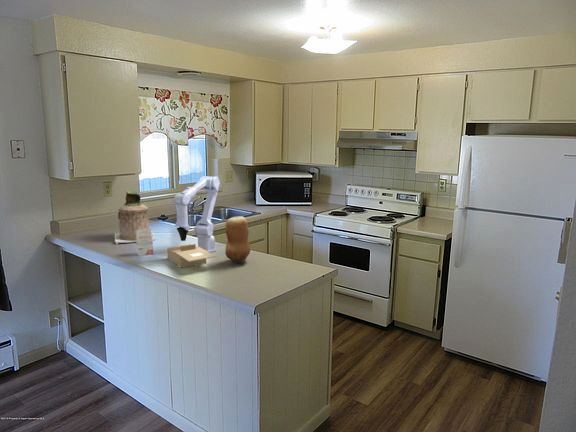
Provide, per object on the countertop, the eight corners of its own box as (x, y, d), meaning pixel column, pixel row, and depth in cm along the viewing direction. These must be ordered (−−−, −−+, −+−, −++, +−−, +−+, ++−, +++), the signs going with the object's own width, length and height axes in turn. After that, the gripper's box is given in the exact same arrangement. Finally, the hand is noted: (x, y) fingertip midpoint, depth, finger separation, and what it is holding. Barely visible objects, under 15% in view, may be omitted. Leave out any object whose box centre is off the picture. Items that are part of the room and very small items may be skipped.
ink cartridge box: (153, 252, 248) (152, 227, 245) (153, 254, 243) (151, 229, 240) (138, 253, 245) (136, 228, 242) (137, 255, 241) (135, 230, 238)
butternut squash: (223, 259, 233) (222, 215, 228) (247, 257, 238) (246, 213, 233) (229, 267, 221) (227, 220, 216) (254, 264, 225) (253, 218, 220)
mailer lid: (199, 247, 233) (199, 242, 233) (216, 257, 217) (215, 251, 216) (173, 252, 225) (173, 246, 225) (188, 261, 209) (188, 255, 208)
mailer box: (191, 254, 243) (190, 244, 242) (206, 263, 227) (205, 252, 226) (167, 258, 235) (166, 248, 234) (181, 268, 219) (180, 256, 218)
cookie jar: (156, 241, 271) (153, 191, 265) (114, 245, 263) (110, 193, 256) (153, 232, 294) (150, 186, 288) (114, 235, 285) (110, 188, 279)
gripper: (170, 214, 234) (171, 238, 236) (180, 219, 222) (181, 244, 225) (182, 213, 238) (183, 237, 241) (193, 217, 226) (194, 242, 229)
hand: (183, 240), depth 233 cm, fingers closed
